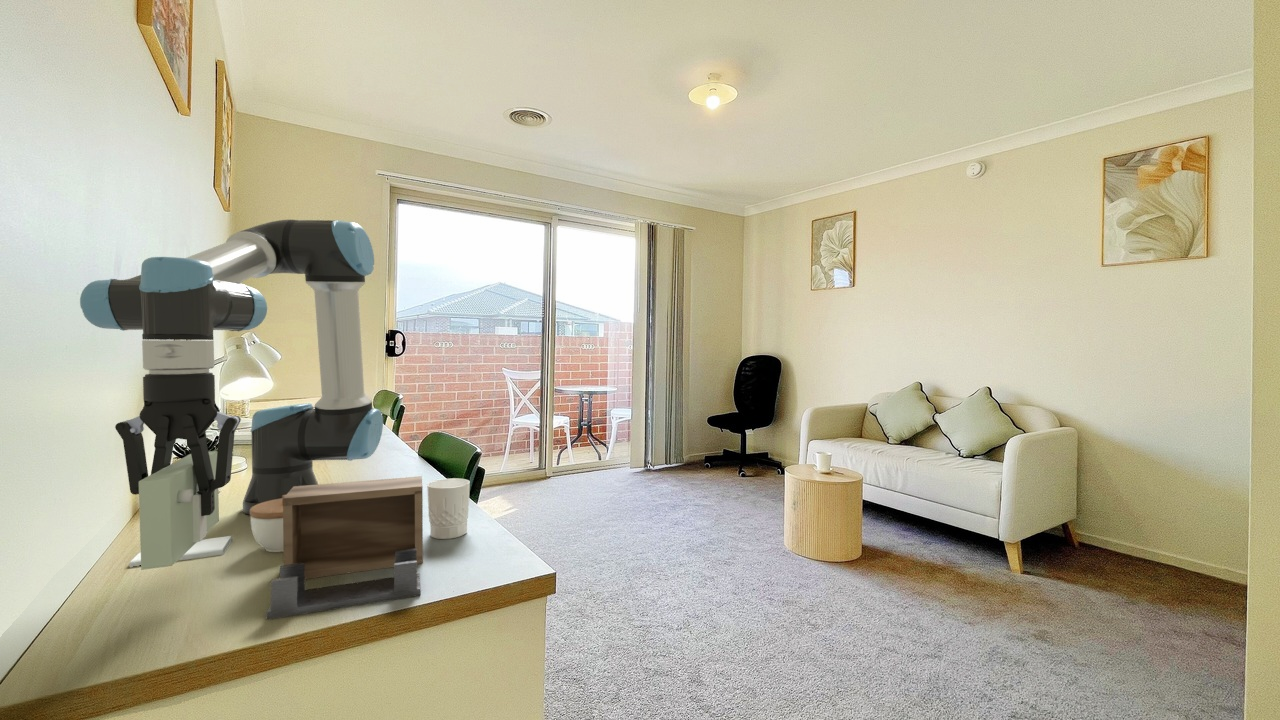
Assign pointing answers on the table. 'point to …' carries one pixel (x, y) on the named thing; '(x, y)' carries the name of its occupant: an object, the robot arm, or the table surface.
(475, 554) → the table surface
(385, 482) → the cabinet
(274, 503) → the lidded jar
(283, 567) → the clip rail
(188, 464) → the door panel
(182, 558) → the external hard drive
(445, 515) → the white cup
